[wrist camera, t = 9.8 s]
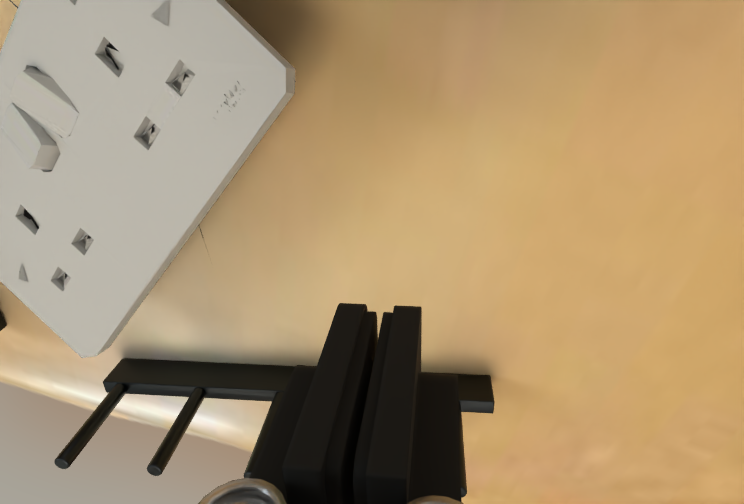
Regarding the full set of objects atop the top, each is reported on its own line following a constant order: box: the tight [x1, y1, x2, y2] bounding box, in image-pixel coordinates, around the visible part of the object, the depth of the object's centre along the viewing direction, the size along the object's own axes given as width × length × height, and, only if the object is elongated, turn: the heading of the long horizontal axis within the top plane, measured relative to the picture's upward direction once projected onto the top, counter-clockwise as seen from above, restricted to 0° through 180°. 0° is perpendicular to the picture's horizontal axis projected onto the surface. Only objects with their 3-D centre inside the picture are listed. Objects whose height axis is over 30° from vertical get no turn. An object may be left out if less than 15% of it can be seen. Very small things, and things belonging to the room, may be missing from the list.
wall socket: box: [0, 0, 296, 358], centre depth 21 cm, size 18×15×4 cm
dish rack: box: [0, 312, 494, 498], centre depth 20 cm, size 28×24×7 cm
